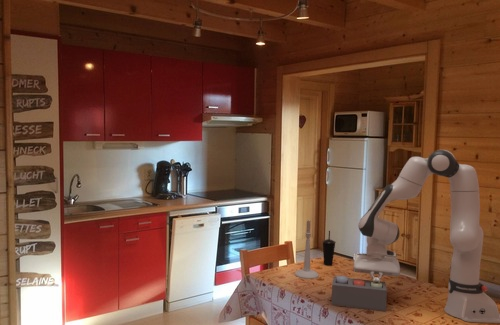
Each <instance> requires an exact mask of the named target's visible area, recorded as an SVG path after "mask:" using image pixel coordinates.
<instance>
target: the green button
mask: <svg viewBox="0 0 500 325" xmlns="http://www.w3.org/2000/svg"><path fill="white" fill-rule="evenodd" d="M371 287H380V288H382V283H374V282H371Z"/></svg>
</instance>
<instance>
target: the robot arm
mask: <svg viewBox="0 0 500 325" xmlns="http://www.w3.org/2000/svg"><path fill="white" fill-rule="evenodd" d="M433 174H434V175H437V176H441V177H445V178H448V182H449V190H450V193H449V194H450V220H449V222H450V223H449V225H450V226H449V242H450V245H451V246H452V247H453V250H452V255H451V260H450V261H451V262H450V276H449V279H448V290H447V291H448V295H447V300H446V304H445V306H444V309H443V311H444V312H445V313H446V314H448V315H449V316H452V317H455V318H457V319H460V320H462V321H464V322H467V323H481V324H483V323H484V324H500V312H499V309H498V306H497V303H496V301H495V300H494V299H492V298H491V297H490V296H489V295H487V293H485V292H487V291H488V290H489V289H488V286H486V285H484V284H483V283H481V282H480V271H481V269H480V268H481V261H482V253H483V243H484V235H485V234H484V229H483V228H482V226H480V216H481V200H480V199H481V198H480V197H481V196H480V185H479V179H478V173H477V171H476V169H475V167H473V166H472V165H469V164H461V163H459V162H458V161H457V159H456V157H455V156H454V154H453V153H452V152H451V151H449V150H447V149H437V150H434V151H432V153H430V154H429V155H428V157H427V158H426V157H425V158H424V157H421V156H411V157H410V158H409V159H408V160H407V161H406V163H405V164H404V166H403V168H402V170H401V171H400V172H399V175H398V176H397V177H396V178H397V179H396V180H394V181H393V182H392V183H391V184H387V185H385V187H384V188H383V189H382V190H381V192H380V193H379V194H378V196H377V197H376V198H375V200H374V202H373V203H372V204H371V206H370V207H369V208H368V210H367V211H366V212H365V214H364V215H363V216H362V217H361V218H360V220H359V222H358V229H359V232H360V233H361V234H362V236H365V237H366V243H367V245H366V253H363V252H361V253H360V252H356V253H354V254H353V256H352V259H353V261H354V262H353V272H355V273H360V274H361V273H362V274H370V277H371V280H372V281H373V282H374V283H380V281H381V279H382V278H383V276H390V277H399V275H401V274H400V273H401V268H400V267H401V266H400V261H399V260H398V258H397V253H396V252H395V251H392V250H390V249H387V246H390V245H392V244H393V243H395V242H397V241H398V240H399V237H400V227H399V225H398V224H397V223H395V222H393V221H390V220H387V219H383V218H381V217H379V216H380V214H381V213H382V211H383V210H384V208H386V206H387V205H388V204H389V203H391V202H393V201H398V200H399V201H400V200H401V201H403V200H405V201H407V200H412V199H414V198H416V197H417V196H419V194H420V193H421V191H422V189H423V187H424V184H426V181H427V179H428V178H429V177H430V175H433ZM374 275H378V277H375V276H374Z"/></svg>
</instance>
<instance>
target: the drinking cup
mask: <svg viewBox="0 0 500 325" xmlns="http://www.w3.org/2000/svg"><path fill="white" fill-rule="evenodd" d="M330 237H331V230H328V239H324V240H322V242H321V243H322V251H323V252H322V253H323V256H322V257H323V265H324V266H327V267H331V266H333V263H334V254H335V248H336V241H335V240H333V239H331V238H330Z"/></svg>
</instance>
